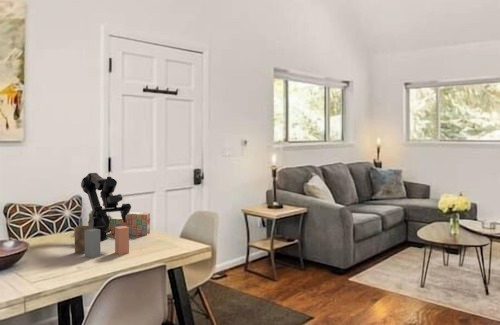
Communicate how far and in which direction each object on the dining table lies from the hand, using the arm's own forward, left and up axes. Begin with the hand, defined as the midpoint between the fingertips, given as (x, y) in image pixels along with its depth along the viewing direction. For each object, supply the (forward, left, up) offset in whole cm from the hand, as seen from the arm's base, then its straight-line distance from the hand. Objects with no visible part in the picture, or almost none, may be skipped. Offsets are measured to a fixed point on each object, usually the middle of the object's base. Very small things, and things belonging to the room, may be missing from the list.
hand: (116, 223), depth 215 cm
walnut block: (-12, -10, -13) cm, 20 cm away
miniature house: (-34, +34, -13) cm, 50 cm away
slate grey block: (-3, -14, -13) cm, 19 cm away
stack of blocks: (-13, +33, -13) cm, 38 cm away
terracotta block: (+6, -4, -13) cm, 15 cm away
